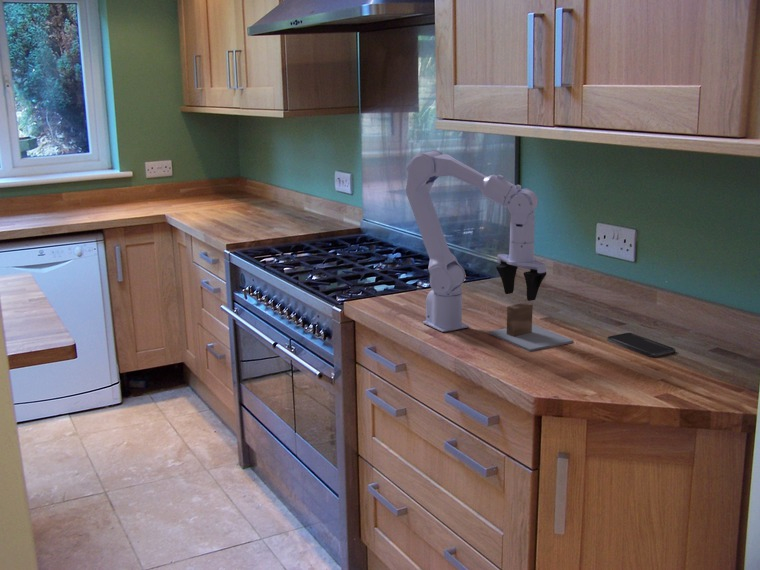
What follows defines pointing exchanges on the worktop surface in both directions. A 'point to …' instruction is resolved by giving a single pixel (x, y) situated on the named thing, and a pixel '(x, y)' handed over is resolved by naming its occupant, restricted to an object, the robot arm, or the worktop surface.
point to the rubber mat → (533, 338)
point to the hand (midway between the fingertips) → (520, 296)
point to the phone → (641, 345)
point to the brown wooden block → (519, 319)
